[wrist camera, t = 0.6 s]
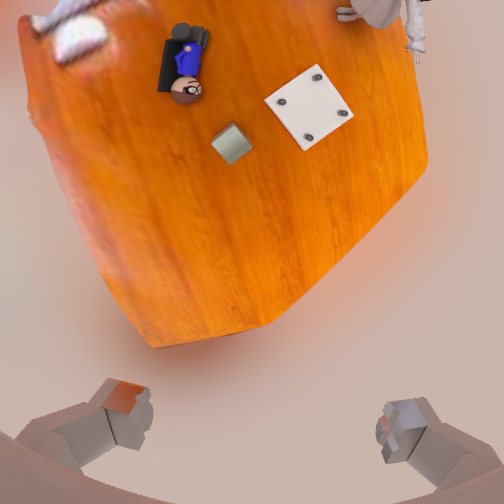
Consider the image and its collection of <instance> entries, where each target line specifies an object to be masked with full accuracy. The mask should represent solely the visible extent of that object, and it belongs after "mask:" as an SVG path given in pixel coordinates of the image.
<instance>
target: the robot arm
mask: <svg viewBox="0 0 504 504" xmlns="http://www.w3.org/2000/svg"><path fill="white" fill-rule="evenodd" d="M150 397H151V395H150V390H149V389H148V388H147V387H144V386H140V385H136V384H131V383H128V382H124V381H119V380H116V379H112V378H108V379H107V380H105V382H104V383H103V384H102V385H101V387H100V388H99V389H98V390H97V392H96V393H95V394H94V396H93V397H92V398H91V399H90V401H89V402H88V403H85V402H83V403H80V404H78V405H74V406H72V407H69V408H66V409H63V410H60V411H57V412H54V413H52V414H49V415H46V416H42V417H40V418H36V419H33V420H31V421H30V422H29V424H28V425H27V426H26V427H25V428H24V429H23V430H22V431H21V432H20V434H19V435H18V436H17V437H16V438H15V439H12V438H11V437H9V436H8V435H6V434H4V433H3V432H2V431H0V504H174V503H169V502H165V501H161V500H157V499H153V498H149V497H145V496H142V495H138V494H135V493H132V492H128V491H125V490H122V489H119V488H116V487H113V486H110V485H108V484H105V483H102V482H100V481H97V480H94V479H92V478H89V477H87V476H84V474H83V472H82V470H81V469H80V468H81V467H83V466H84V465H86V464H88V463H89V462H91V461H93V460H95V459H96V458H98V457H100V456H101V455H103V454H104V453H106V452H108V451H109V450H111V449H113V448H114V447H116V445H119V446H123V447H126V448H130V449H134V450H138V451H139V449H140V447H141V445H142V443H143V441H144V439H145V436H144V432H145V431H147V430H149V428H150V426H151V424H152V419H153V407H152V405H151V404H150V402H149V399H150ZM383 412H384V415H383V416H382V417H381V418H380V419H379V420H378V423H377V425H376V438H377V441H378V443H379V444H381V445H382V446H383V449H382V450H381V452H382V455H383V458H384V461H385V463H386V464H390V463H397V462H403V461H407V463H408V464H409V465H411V466H412V467H413V468H414V469H416V470H417V471H418V472H419V473H420V474H421V475H423V476H424V477H425V478H426V479H428V480H429V481H430V482H431V483H432V484H434V485H435V486H436V487H437V489H436V490H435V491H434V493H432V494H429V495H426V496H422V497H418V498H415V499H411V500H407V501H403V502H399V503H394V504H504V465H503V464H502V462H501V461H500V459H499V458H498V456H497V454H496V453H495V451H494V450H493V448H492V447H491V446H490V445H489V444H486V443H484V442H482V441H480V440H478V439H476V438H474V437H472V436H470V435H468V434H466V433H464V432H462V431H460V430H458V429H456V428H455V427H453V426H451V425H448V424H447V423H441V421H440V420H439V418H438V416H437V415H436V413H435V412H434V410H433V408H432V407H431V405H430V404H429V402H428V401H427V399H426V398H424V397H420V398H413V399H408V400H400V401H390V402H387V403H386V404H385V405H384V408H383Z"/></svg>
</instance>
